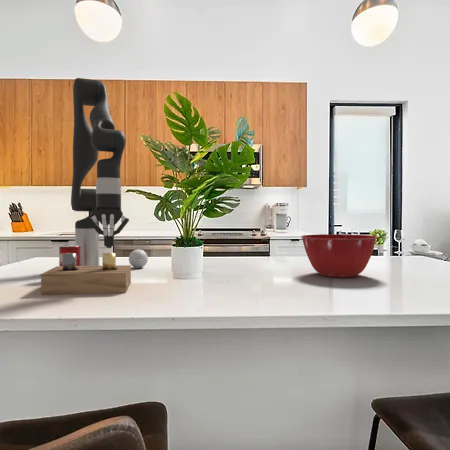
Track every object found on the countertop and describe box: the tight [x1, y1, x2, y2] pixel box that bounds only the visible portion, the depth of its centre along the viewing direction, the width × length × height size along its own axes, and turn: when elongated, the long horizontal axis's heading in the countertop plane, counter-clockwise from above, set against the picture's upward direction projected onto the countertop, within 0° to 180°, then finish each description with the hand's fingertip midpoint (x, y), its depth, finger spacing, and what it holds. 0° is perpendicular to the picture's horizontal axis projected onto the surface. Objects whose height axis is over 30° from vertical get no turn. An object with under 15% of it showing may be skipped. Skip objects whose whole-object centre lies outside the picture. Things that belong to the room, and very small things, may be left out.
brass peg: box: [101, 252, 117, 270], centre depth 124 cm, size 4×4×6 cm
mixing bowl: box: [301, 233, 378, 279], centre depth 152 cm, size 28×28×16 cm
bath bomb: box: [128, 248, 149, 269], centre depth 167 cm, size 8×8×8 cm
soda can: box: [58, 244, 81, 266], centre depth 139 cm, size 7×7×12 cm
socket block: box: [40, 264, 132, 296], centre depth 123 cm, size 16×24×6 cm, turn 98°
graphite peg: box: [62, 253, 76, 271], centre depth 122 cm, size 4×4×6 cm
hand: (108, 247), depth 123 cm, fingers closed
